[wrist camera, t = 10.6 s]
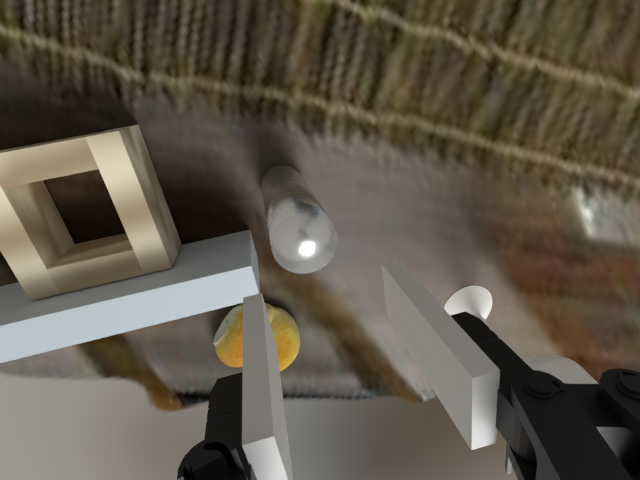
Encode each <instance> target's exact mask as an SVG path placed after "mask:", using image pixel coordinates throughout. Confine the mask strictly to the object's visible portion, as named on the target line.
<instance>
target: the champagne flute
mask: <svg viewBox="0 0 640 480" xmlns="http://www.w3.org/2000/svg"><path fill="white" fill-rule="evenodd" d="M491 307H492V296H491V294H490V292H489V291H488V290H487V289H485V288H484V287H481V286H476V285H475V286H468V287H464V288H462V289H460V290H458V291H457V292H455V293H454V294H453V295H452V296H451V297H450V298H449V299H448V301H447V302H446V304H445V306H444V309H445V310H446V312H447V313H448V314H449V315H454V314H458V313H462V312H465V311H466V312H468V313H470V314H472V315H474V316H476V317H478V318H480V319H481V320H482V321H483V322H484V323H485V324H486V325H487V326H488V327H489V328H490V330H492V331H493V332H494V333H495V334H496V335H497V336H498V338H499V339H501V340H502V341H504V342H505V343H506V344H507V345H508V346H509V347H510V348H511V349H512V350H513V351H514V352H515V353H516V354H517V355H518V356H519V357H520V358H521V359H522V360H523V361H524V362H525V363H526V364H527V365H528V366H529V367H530V368H531V369H533V370H539V371H542V372H546V373H549V374H551V375H553V376H555V377H556V378H558V379H560V380H561V381H562V382H563V383H568V384H598V383H597V382H596V381H595V380H594V379H593V378H592V377H591V376H590V375H589V374H588V373H587V372H586V371H585V370H584V369H583V368H582V367H581V366H580V365H579V364H577V363H576V362H574V361H573V360H571V359H568V358H565V357H561V356H555V355H537V356H529V357H526V358H525V357H524V356H523V355H522V354H521V353H520V352H519V351H518V350H517V349H516V348H515V347H514V346H513V345H512V344H511V343H509V342H508V341H507V340H506V339H505V338H504V337H503V336H502V335H501V334H500V333H499V332H498V331H497V330H496V329H495V328H494V327H493V326H492V325H491V324H490V323H488V322H487V321H486V320H485V319H486V318H487V316H488V315H489V313H490V311H491Z"/></svg>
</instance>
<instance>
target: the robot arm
mask: <svg viewBox="0 0 640 480" xmlns="http://www.w3.org/2000/svg"><path fill="white" fill-rule="evenodd" d="M381 264H382V273H383V282H384V292H385V301H386V310H387V317H388V319H389V320H390V322H391V323H392V325H393V327H394V328H395V330H396V331H397V333H398V335H399V336H400V338H401V339H402V341H403V343H404V344H405V346H406V347H407V349H408V350H409V352H410V354H411V355H412V357H413V358H414V360H415V362H416V363H417V365H418V366H419V368H420V369H421V371H422V373H423V374H424V376H425V377H426V379H427V381H428V382H429V384H430V385H431V387H432V388H433V390H434V392H435V393H436V395H437V396H438V398H439V400H440V401H441V403H442V404H443V406H444V407H445V409H446V411H447V412H448V414H449V415H450V417H451V418H452V420H453V422H454V423H455V425H456V426H457V428H458V430H459V431H460V432H461V434H462V436H463V438H464V439H465V441H466V442H467V444H468V445H469V447H470V448H471V450H474V449H477V448H480V447H483V446H487V445H490V444H493V443H496V436H497V429H498V430H499V432H500V433H501V434H502V436H503V437H504V438H505V440H506V441H507V447H506V460H505V468H506V473H507V474H511V468H512V467H513V469H514V471H515V474H516V476H517V478H518V480H640V373H638V372H636V371H633V370H626V369H610V370H608V371H606V372H604V373H602V376H601V378H600V382H599V384H568V383H563V382H562V381H561V380H560V379H558V378H556V377H555V376H553V375H551V374H549V373H546V372H542V371H539V370H533V369H531V368H530V367H529V366H528V365H527V364H526V363H525V362H524V361H523V360H522V359H521V358H520V357H519V356H518V355H517V354H516V353H515V352H514V351H513V350H512V349H511V348H510V347H509V346H508V345H507V344H506V343H505V342H504V341H502V340H501V339H499V338H498V336H497V335H496V334H495V333H494V332H493V331H492V330H490V328H489V327H488V326H487V325H486V324H485V323H484V322H483V321H482V320H481V319H480V318H478V317H476V316H474V315H472V314H470V313H468V312H466V311H465V312H462V313H458V314H454V315H449V314H448V313H447V312H446V310H445V309H444V308H443V307H442V306H441V305H440V304H439V303H438V302H437V301H436V300H435V298H434V297H433V296H432V295H431V294H430V293H429V292H428V291H427V290H426V289H425V288H424V286H423V285H422V284H421V283H420V282H419V281H418V280H417V279H416V278H415V277H414V276H413V274H412V273H411V272H410V271H409V270H408V269H407V268H406V267H405V266H404V265H403V263H402V262H401V261H400V260H399V259H398V260H394V261H390V262H386V263H381ZM208 407H209V410H208V415H207V424H206V433H205V440H203V441H201V442H200V443H199V444H197V445H196V446H194V447H193V448H192V449H191V450H190V451H189V452H188V453H187V454H186V455H185V457H184V458H183V460H182V462H181V464H180V466H179V468H178V476H177V480H293V476H292V468H291V459H290V451H289V443H288V435H287V427H286V419H285V411H284V403H283V395H282V386H281V378H280V370H279V362H278V354H277V346H276V342H275V339H274V335H273V331H272V328H271V324H270V320H269V317H268V313H267V310H266V306H265V302H264V299H263V295H262V293H259V294H255V295H251V296H247V297H243V372H242V373H238V374H234V375H231V376H227V377H223V378H220V379H218V380H217V381H216V383H215V385H214V387H213V388H212V390H211V392H210V397H209V406H208Z"/></svg>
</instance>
